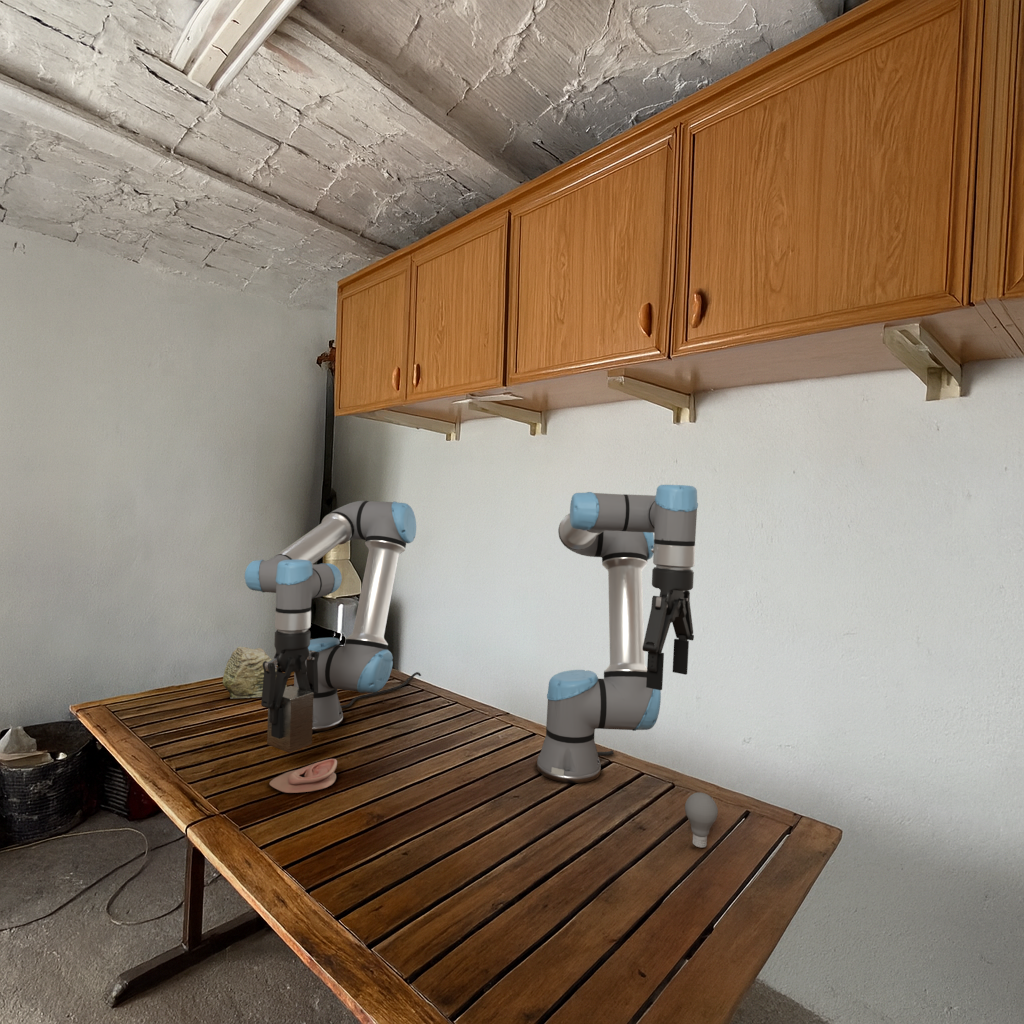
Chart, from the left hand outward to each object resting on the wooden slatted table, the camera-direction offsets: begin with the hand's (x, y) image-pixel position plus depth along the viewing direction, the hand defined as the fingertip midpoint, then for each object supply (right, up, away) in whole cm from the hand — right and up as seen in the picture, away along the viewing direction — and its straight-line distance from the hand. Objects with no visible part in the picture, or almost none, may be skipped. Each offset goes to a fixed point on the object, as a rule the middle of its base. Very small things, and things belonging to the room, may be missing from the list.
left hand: (289, 731), depth 142 cm
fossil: (-31, -8, +56) cm, 65 cm away
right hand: (+79, +18, -23) cm, 84 cm away
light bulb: (+85, -15, -21) cm, 89 cm away
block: (0, -3, 0) cm, 3 cm away
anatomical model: (+4, -11, -2) cm, 11 cm away
